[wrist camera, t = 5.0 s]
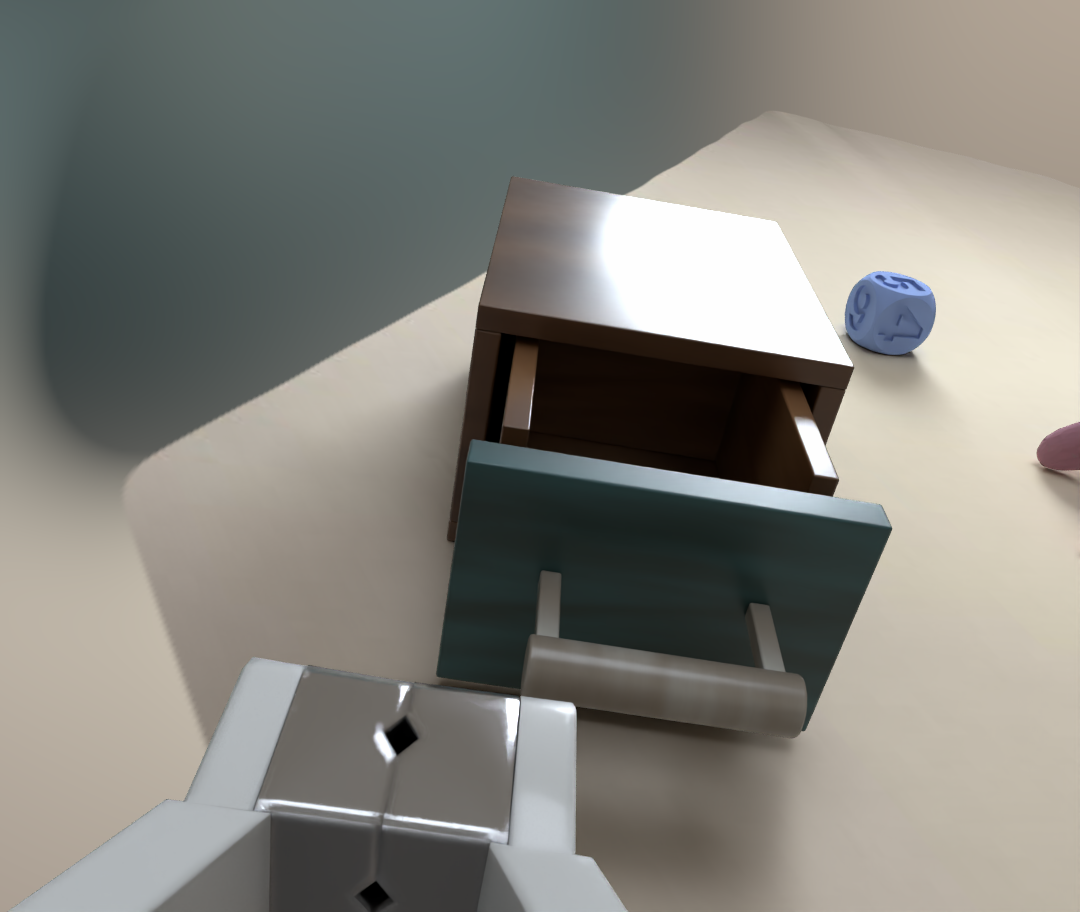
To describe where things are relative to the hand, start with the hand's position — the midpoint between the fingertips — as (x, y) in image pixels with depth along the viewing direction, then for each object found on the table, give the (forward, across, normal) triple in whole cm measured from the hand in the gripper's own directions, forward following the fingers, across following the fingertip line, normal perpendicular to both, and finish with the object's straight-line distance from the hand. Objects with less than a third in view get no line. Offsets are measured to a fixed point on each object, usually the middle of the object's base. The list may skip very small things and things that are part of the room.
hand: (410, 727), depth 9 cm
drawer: (+20, -5, +14) cm, 25 cm away
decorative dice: (+51, -23, +15) cm, 58 cm away
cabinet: (+31, -5, +15) cm, 35 cm away
